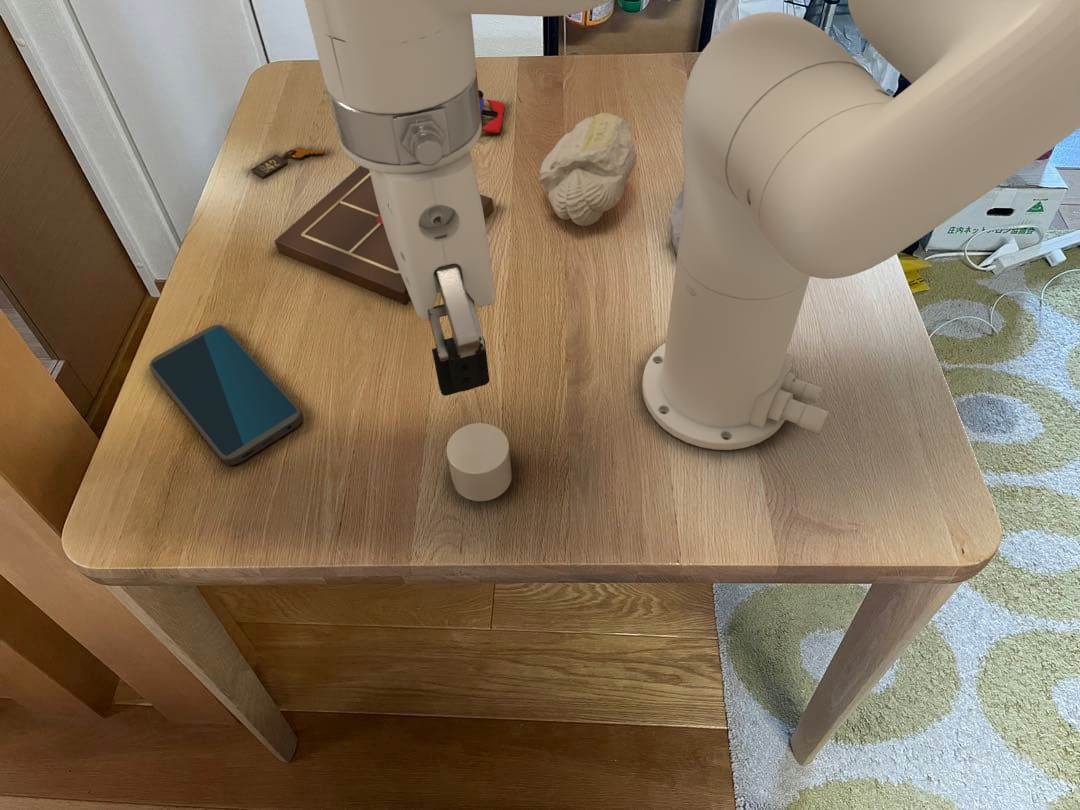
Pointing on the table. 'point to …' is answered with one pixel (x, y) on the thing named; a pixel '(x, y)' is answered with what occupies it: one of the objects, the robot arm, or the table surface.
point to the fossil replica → (589, 168)
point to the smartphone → (226, 394)
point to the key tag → (281, 161)
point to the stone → (479, 461)
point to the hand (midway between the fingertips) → (445, 335)
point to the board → (350, 237)
